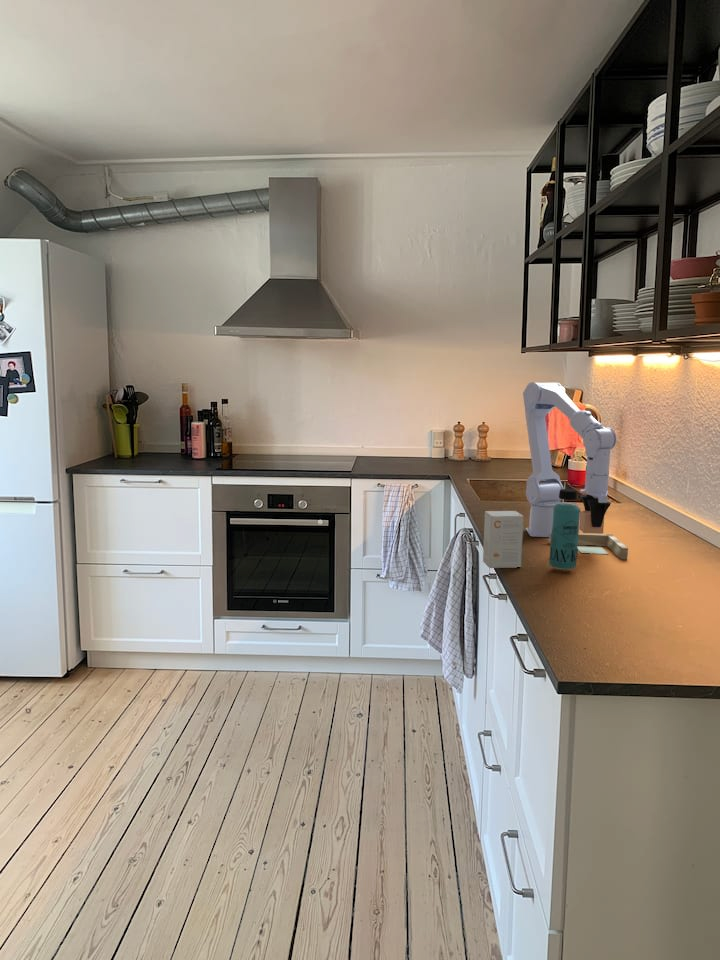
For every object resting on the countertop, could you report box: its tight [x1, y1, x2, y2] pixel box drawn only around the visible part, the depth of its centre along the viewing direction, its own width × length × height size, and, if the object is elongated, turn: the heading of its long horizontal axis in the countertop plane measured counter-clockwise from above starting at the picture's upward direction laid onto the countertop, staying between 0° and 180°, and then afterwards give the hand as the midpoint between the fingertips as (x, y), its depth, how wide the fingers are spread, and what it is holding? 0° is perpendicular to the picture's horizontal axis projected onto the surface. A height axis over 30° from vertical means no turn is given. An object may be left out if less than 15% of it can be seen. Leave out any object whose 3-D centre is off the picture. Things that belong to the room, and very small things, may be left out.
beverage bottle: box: [548, 488, 581, 570], centre depth 171 cm, size 6×7×20 cm
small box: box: [482, 510, 525, 569], centre depth 176 cm, size 8×6×13 cm
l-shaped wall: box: [548, 532, 629, 560], centre depth 192 cm, size 15×17×3 cm
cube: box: [579, 510, 605, 534], centre depth 191 cm, size 5×5×5 cm
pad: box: [577, 545, 609, 555], centre depth 192 cm, size 7×7×1 cm
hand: (593, 524), depth 191 cm, fingers closed on cube, 5 cm apart
